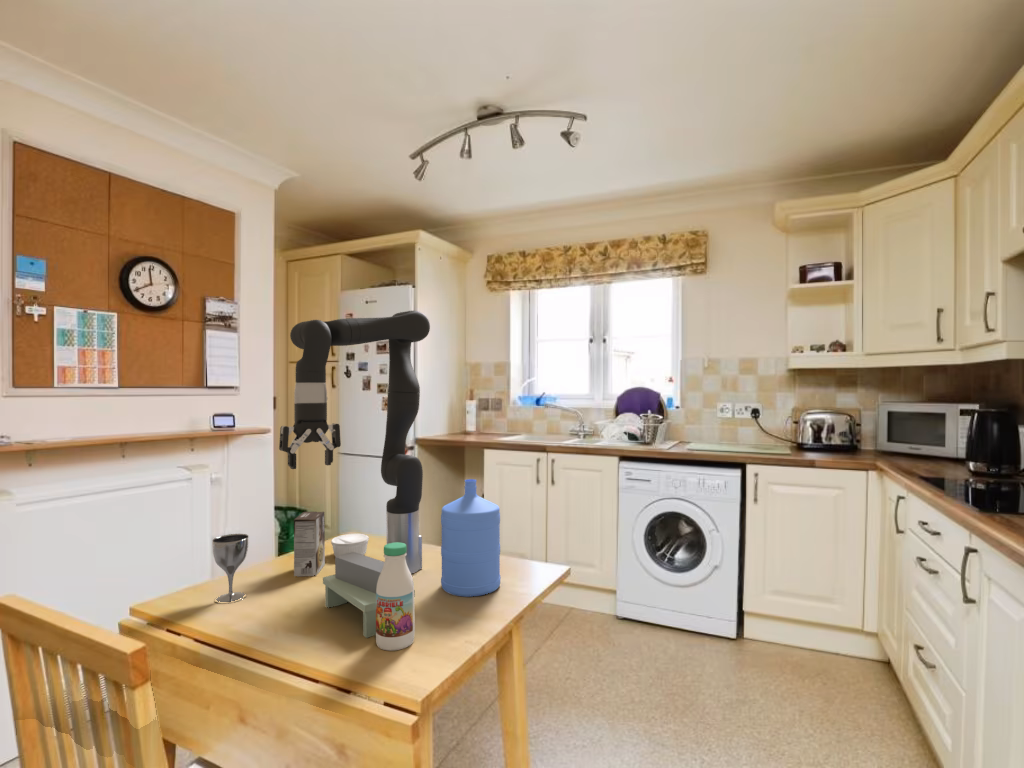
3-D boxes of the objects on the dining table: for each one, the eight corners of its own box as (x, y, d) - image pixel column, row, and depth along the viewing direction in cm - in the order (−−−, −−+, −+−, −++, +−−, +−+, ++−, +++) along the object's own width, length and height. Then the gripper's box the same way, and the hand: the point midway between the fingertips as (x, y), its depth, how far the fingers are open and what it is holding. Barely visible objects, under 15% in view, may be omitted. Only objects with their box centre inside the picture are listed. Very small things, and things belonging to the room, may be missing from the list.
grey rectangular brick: (353, 572, 127) (353, 551, 127) (400, 589, 116) (400, 566, 116) (335, 577, 123) (335, 557, 123) (382, 596, 112) (382, 573, 112)
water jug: (508, 593, 131) (508, 483, 131) (448, 601, 126) (448, 487, 126) (490, 572, 146) (489, 474, 146) (435, 579, 140) (435, 477, 141)
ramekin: (324, 559, 158) (324, 542, 158) (342, 548, 169) (342, 532, 169) (358, 561, 156) (358, 544, 156) (374, 550, 167) (374, 534, 167)
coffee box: (303, 565, 152) (303, 511, 152) (325, 565, 153) (325, 510, 153) (292, 577, 143) (292, 519, 143) (316, 576, 144) (316, 518, 144)
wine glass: (232, 605, 124) (232, 543, 124) (204, 603, 126) (204, 541, 126) (255, 593, 132) (255, 534, 132) (228, 590, 133) (228, 532, 134)
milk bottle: (379, 634, 109) (379, 540, 109) (416, 632, 110) (416, 538, 110) (372, 652, 101) (372, 551, 102) (412, 651, 102) (412, 550, 102)
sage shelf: (369, 593, 131) (369, 565, 131) (414, 621, 115) (414, 590, 115) (322, 606, 123) (322, 577, 123) (364, 639, 107) (364, 605, 107)
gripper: (332, 400, 134) (332, 462, 134) (275, 401, 125) (275, 468, 125) (344, 401, 129) (345, 465, 129) (286, 402, 119) (286, 471, 119)
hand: (310, 466), depth 127 cm, fingers open, 8 cm apart
